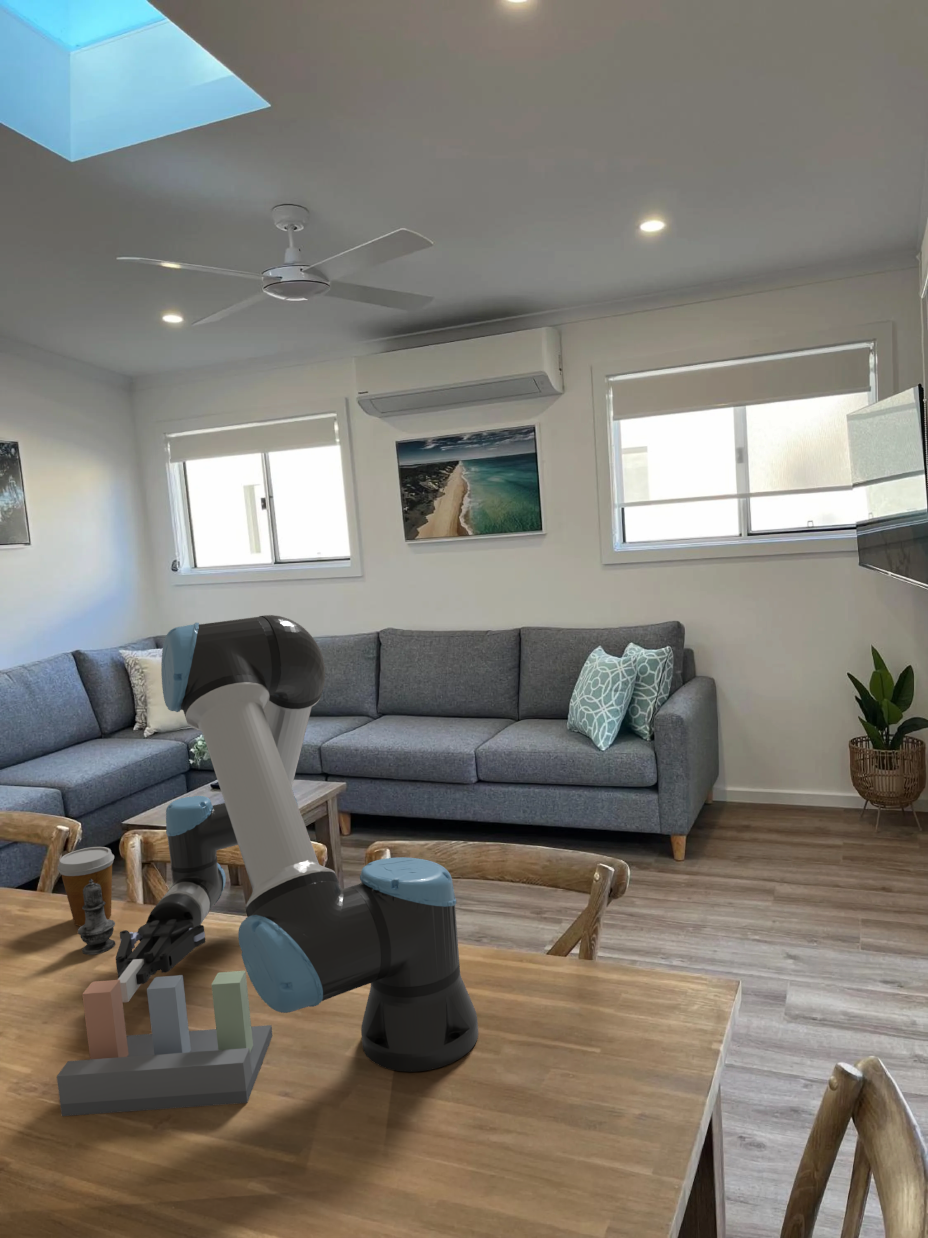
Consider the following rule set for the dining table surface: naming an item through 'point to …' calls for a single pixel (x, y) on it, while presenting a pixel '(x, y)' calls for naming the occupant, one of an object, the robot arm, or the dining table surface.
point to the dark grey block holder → (163, 1076)
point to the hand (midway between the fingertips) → (121, 992)
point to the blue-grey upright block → (168, 1015)
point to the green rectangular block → (232, 1011)
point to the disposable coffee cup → (86, 878)
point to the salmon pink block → (105, 1020)
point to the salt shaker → (95, 922)
